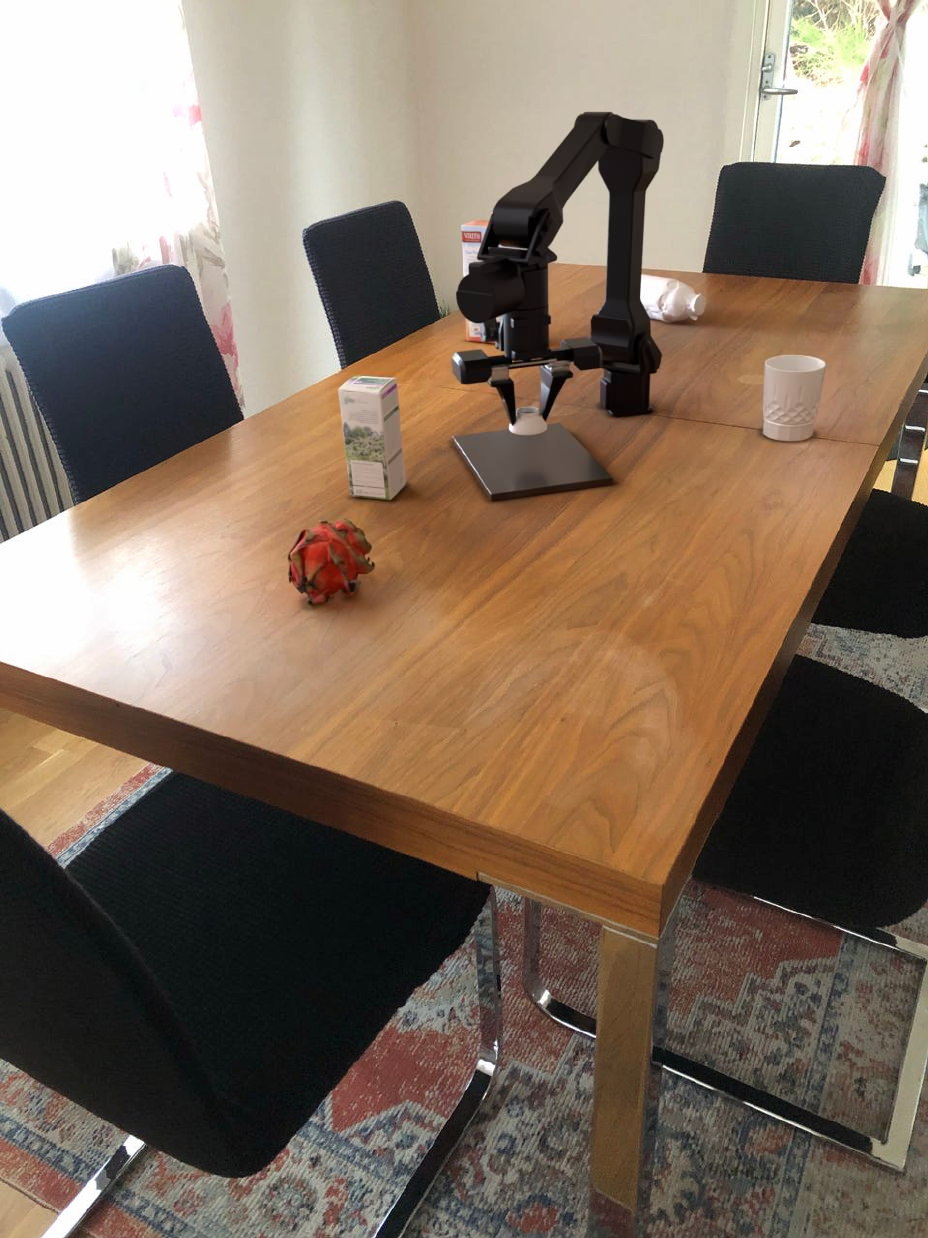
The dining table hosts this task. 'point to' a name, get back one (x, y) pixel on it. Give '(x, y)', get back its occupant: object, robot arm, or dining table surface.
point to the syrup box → (372, 436)
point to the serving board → (530, 463)
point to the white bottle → (670, 299)
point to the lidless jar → (528, 422)
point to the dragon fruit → (329, 560)
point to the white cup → (791, 396)
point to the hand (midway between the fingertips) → (528, 424)
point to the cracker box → (471, 246)
